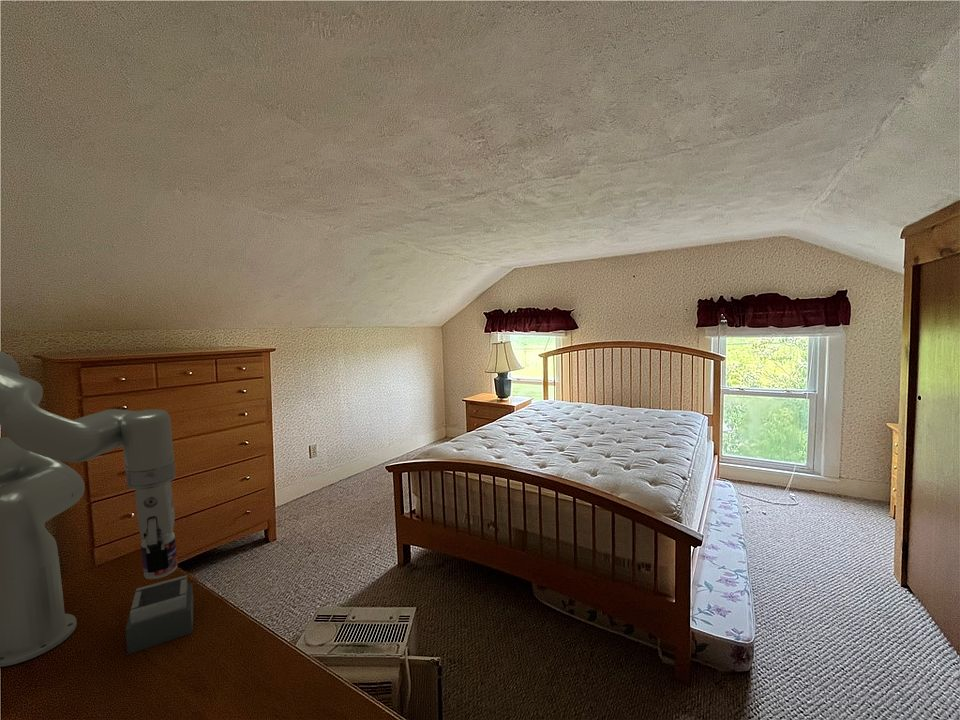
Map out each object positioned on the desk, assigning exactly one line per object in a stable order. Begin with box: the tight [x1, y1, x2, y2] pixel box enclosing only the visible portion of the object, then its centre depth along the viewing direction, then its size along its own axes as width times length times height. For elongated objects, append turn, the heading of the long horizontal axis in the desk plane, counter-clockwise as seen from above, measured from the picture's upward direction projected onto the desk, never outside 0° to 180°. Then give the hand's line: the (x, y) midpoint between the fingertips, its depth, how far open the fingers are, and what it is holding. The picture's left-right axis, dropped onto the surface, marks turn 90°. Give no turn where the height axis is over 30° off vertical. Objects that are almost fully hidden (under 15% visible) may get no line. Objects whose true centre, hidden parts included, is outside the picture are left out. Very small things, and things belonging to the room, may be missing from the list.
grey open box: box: [125, 574, 195, 655], centre depth 85 cm, size 10×10×8 cm
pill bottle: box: [140, 530, 178, 580], centre depth 84 cm, size 5×5×10 cm
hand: (159, 561), depth 84 cm, fingers closed on pill bottle, 5 cm apart
